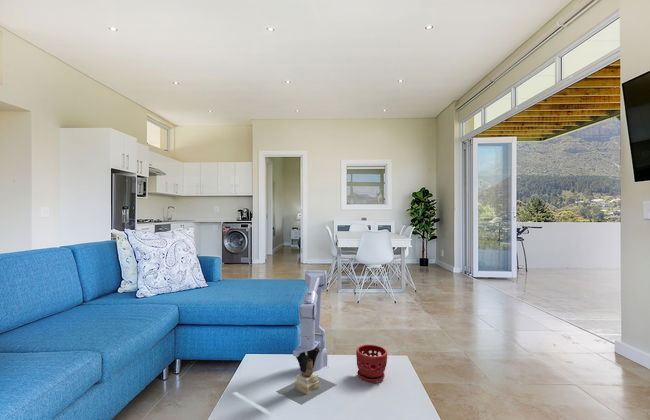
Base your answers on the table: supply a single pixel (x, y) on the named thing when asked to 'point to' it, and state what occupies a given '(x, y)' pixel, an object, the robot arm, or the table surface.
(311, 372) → the walnut cylinder
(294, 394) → the grey base plate
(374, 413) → the table surface
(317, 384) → the oak bottom block
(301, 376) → the birch top block
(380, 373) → the plant pot
